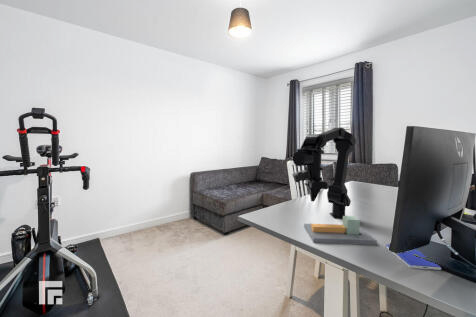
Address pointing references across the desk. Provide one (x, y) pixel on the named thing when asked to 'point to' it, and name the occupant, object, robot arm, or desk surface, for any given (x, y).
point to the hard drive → (416, 260)
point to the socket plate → (340, 237)
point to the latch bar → (328, 228)
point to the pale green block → (351, 225)
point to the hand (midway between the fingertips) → (312, 201)
